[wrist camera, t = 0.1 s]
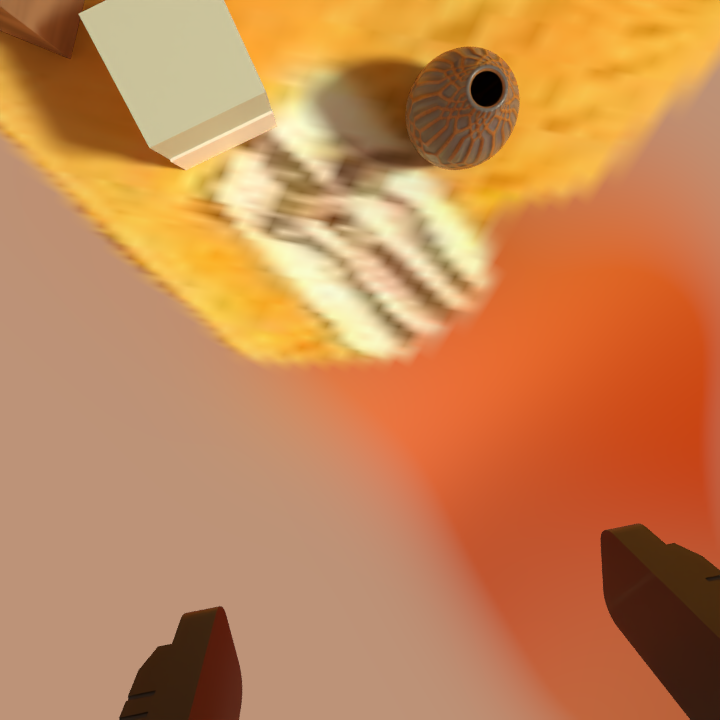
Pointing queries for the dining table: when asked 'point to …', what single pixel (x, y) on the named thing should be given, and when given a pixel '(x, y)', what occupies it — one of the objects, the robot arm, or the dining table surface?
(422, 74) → the vase
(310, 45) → the dining table surface
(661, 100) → the dining table surface
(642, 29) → the dining table surface
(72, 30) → the column
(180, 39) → the tower mid
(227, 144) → the tower base
